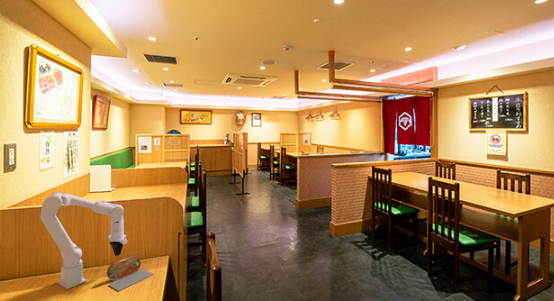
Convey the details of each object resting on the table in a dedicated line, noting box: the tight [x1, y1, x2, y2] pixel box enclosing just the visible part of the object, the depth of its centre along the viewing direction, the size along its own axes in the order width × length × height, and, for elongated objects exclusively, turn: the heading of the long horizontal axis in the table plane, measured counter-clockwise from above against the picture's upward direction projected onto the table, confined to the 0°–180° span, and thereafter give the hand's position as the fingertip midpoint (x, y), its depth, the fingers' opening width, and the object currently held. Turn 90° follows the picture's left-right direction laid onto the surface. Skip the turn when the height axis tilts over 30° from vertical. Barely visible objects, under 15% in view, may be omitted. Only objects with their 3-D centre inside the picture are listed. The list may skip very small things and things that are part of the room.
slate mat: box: [107, 268, 155, 292], centre depth 122 cm, size 9×17×1 cm, turn 149°
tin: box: [106, 256, 142, 282], centre depth 126 cm, size 15×3×8 cm, turn 143°
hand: (117, 255), depth 129 cm, fingers closed
